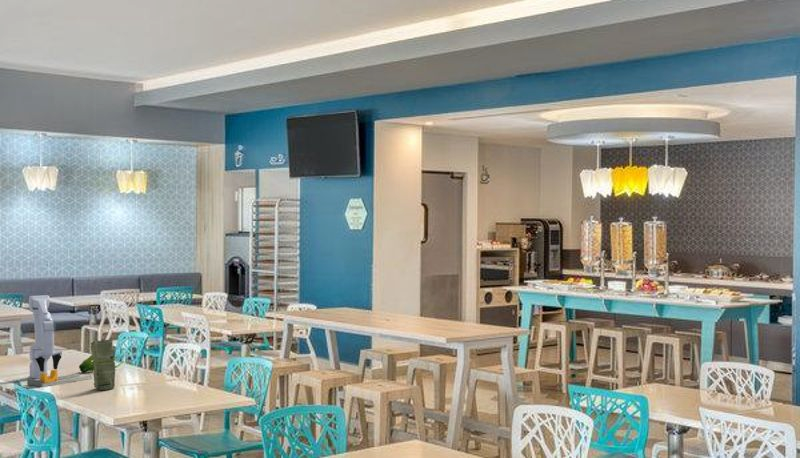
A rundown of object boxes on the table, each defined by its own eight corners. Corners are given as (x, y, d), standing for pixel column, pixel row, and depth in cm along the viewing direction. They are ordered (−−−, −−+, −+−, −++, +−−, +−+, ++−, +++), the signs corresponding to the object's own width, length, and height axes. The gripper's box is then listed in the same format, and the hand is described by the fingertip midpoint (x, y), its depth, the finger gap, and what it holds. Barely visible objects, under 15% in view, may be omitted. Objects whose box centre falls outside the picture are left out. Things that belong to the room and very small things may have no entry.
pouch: (91, 391, 453) (90, 340, 453) (92, 387, 464) (91, 337, 464) (115, 390, 456) (114, 339, 455) (115, 386, 467) (114, 336, 467)
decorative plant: (135, 370, 517) (135, 344, 517) (79, 374, 506) (79, 347, 506) (131, 365, 534) (131, 340, 534) (77, 369, 522) (77, 343, 522)
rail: (27, 384, 473) (27, 379, 473) (78, 376, 498) (78, 370, 498) (40, 387, 466) (40, 381, 466) (91, 378, 491) (91, 372, 490)
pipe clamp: (49, 382, 482) (49, 369, 482) (57, 382, 481) (57, 369, 481) (37, 386, 470) (37, 373, 470) (45, 386, 469) (44, 373, 469)
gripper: (40, 346, 468) (40, 372, 468) (65, 342, 480) (65, 369, 480) (32, 345, 472) (32, 371, 473) (57, 342, 484) (57, 367, 484)
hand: (48, 370), depth 477 cm, fingers open, 7 cm apart
